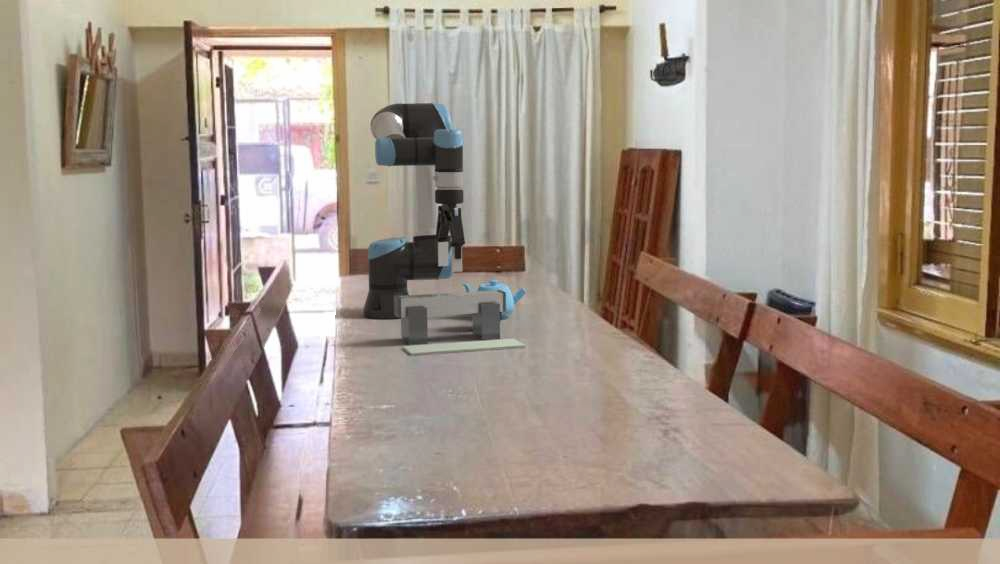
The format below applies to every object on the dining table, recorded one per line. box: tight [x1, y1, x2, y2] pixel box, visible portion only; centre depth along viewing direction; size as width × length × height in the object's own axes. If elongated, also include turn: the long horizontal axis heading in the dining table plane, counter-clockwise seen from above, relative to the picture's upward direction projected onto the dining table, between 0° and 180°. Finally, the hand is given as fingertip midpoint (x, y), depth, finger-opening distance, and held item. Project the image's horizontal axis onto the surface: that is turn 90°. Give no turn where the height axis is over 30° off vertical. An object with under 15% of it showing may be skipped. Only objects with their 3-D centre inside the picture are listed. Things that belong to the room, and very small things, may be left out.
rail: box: [394, 290, 506, 319], centre depth 268 cm, size 30×5×5 cm, turn 108°
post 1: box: [400, 307, 429, 346], centre depth 266 cm, size 9×5×10 cm, turn 18°
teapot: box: [460, 279, 528, 320], centre depth 301 cm, size 15×14×11 cm
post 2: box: [471, 303, 501, 341], centre depth 272 cm, size 9×5×10 cm, turn 18°
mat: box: [402, 338, 526, 357], centre depth 258 cm, size 9×30×1 cm, turn 108°
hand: (450, 268), depth 267 cm, fingers open, 13 cm apart
